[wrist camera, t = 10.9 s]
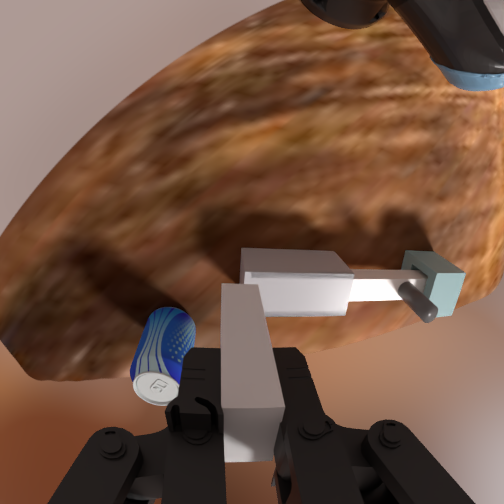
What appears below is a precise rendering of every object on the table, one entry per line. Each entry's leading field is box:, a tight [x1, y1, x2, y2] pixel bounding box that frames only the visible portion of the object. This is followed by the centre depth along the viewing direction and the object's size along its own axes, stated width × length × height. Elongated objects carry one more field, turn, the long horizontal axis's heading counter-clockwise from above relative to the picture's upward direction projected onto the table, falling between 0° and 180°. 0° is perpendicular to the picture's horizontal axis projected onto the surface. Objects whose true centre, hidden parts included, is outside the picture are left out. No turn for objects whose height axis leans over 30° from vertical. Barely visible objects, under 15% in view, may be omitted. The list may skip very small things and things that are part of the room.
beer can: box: [130, 307, 196, 406], centre depth 43 cm, size 8×8×16 cm
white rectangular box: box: [239, 248, 354, 317], centre depth 44 cm, size 7×15×9 cm, turn 86°
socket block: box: [401, 250, 466, 317], centre depth 46 cm, size 8×7×10 cm
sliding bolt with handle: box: [349, 269, 438, 323], centre depth 41 cm, size 4×24×11 cm, turn 86°
